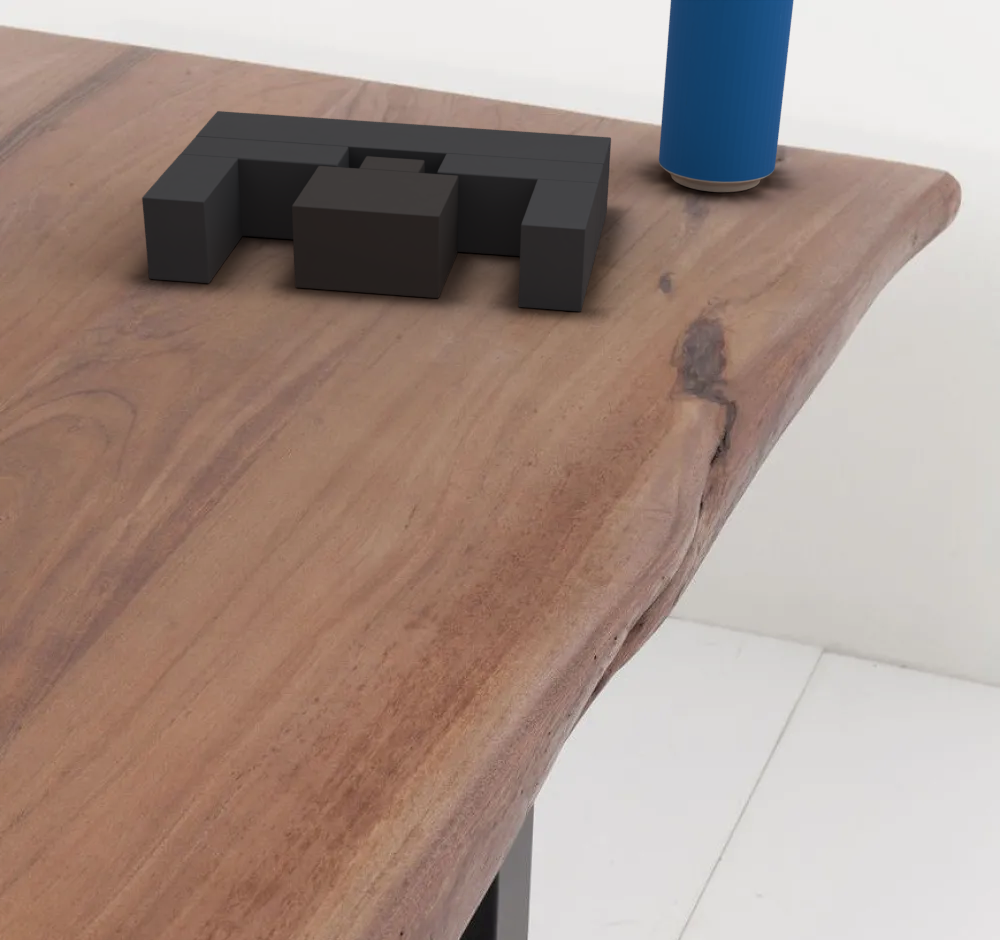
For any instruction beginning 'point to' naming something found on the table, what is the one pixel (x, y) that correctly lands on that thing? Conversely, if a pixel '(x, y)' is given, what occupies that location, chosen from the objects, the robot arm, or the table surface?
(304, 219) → the black block
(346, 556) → the table surface
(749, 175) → the beverage can
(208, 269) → the pad base
